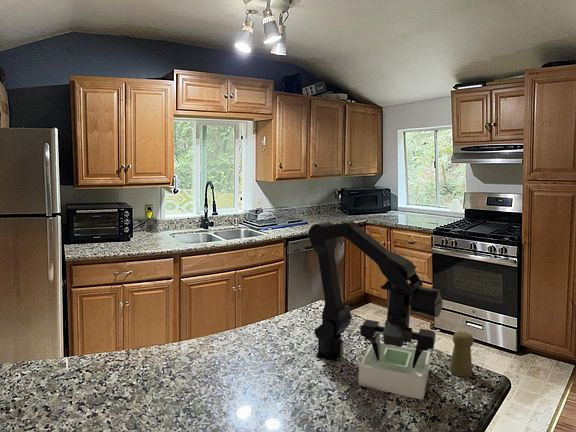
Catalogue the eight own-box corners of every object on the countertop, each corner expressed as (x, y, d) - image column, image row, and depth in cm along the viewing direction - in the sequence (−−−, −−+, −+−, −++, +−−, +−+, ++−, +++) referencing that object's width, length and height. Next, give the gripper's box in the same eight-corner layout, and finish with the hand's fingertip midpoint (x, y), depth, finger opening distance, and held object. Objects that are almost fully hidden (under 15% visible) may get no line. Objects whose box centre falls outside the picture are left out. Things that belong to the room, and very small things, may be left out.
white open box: (358, 385, 108) (359, 365, 108) (371, 358, 123) (372, 340, 122) (423, 400, 102) (424, 378, 101) (429, 370, 117) (430, 351, 116)
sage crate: (378, 379, 110) (379, 361, 109) (385, 364, 118) (385, 347, 117) (406, 385, 107) (407, 367, 106) (410, 369, 115) (411, 352, 114)
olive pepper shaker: (474, 378, 113) (477, 339, 111) (450, 375, 114) (453, 337, 112) (469, 367, 118) (472, 330, 117) (447, 364, 120) (449, 328, 118)
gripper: (356, 312, 106) (353, 370, 108) (433, 325, 99) (429, 386, 101) (366, 298, 116) (363, 352, 118) (437, 309, 109) (433, 366, 111)
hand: (395, 363), depth 112 cm, fingers open, 9 cm apart
